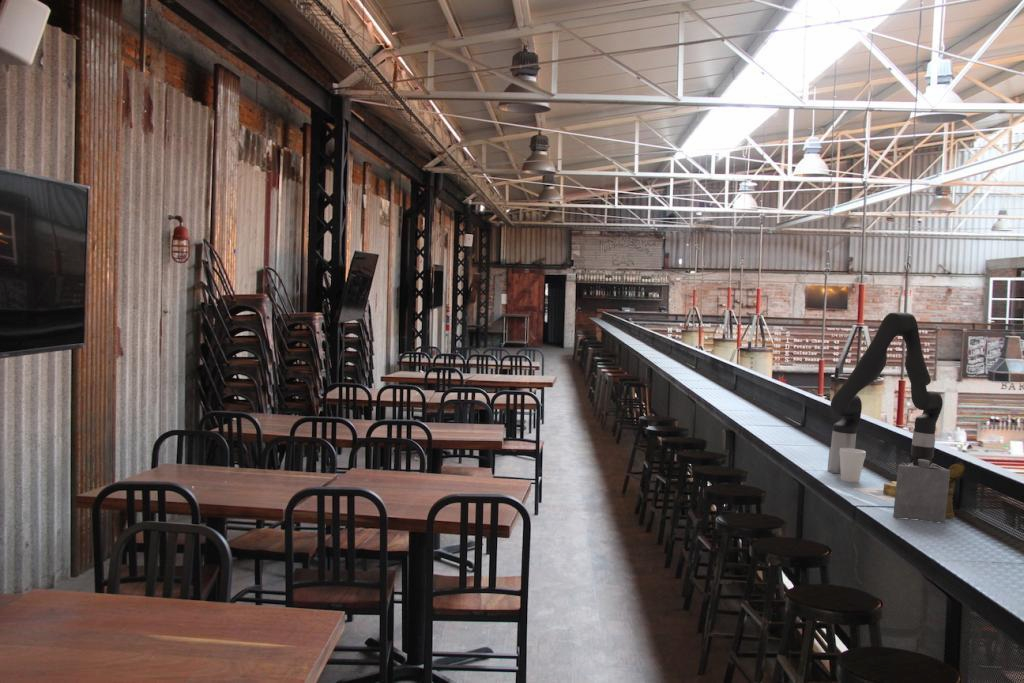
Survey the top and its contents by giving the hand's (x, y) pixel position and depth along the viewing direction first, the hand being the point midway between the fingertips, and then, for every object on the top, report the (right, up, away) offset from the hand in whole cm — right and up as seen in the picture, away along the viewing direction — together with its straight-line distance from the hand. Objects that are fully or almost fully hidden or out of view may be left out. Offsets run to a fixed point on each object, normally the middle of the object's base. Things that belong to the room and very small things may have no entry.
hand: (918, 490), depth 297 cm
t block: (-9, -1, -2) cm, 10 cm away
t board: (-13, -2, -3) cm, 14 cm away
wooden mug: (-4, -4, -25) cm, 25 cm away
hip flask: (-17, -4, -34) cm, 38 cm away
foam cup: (-19, 0, +17) cm, 25 cm away
